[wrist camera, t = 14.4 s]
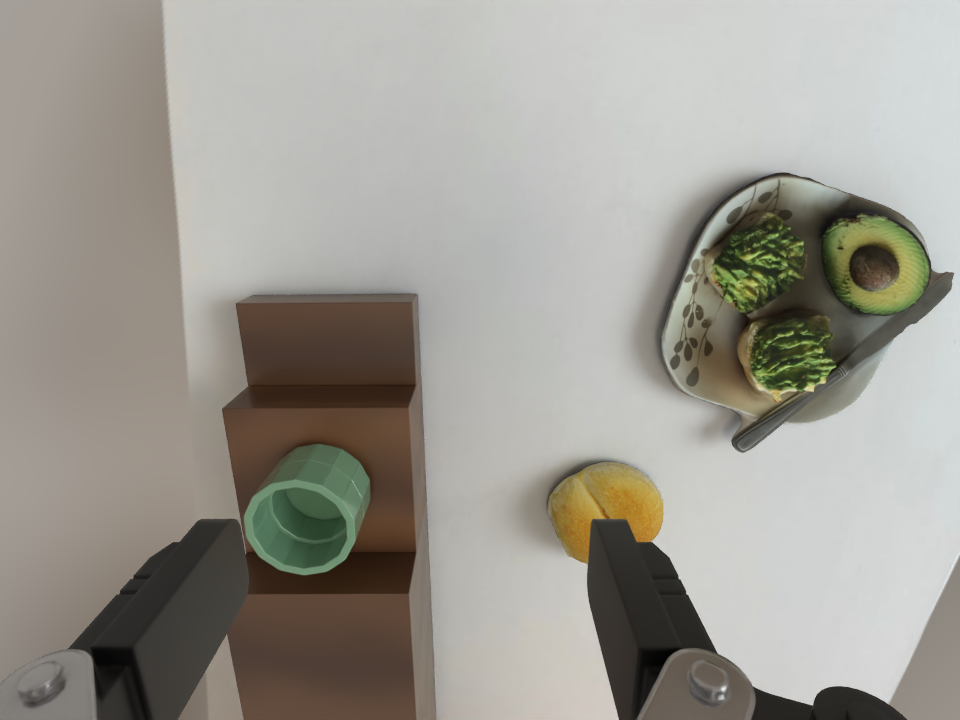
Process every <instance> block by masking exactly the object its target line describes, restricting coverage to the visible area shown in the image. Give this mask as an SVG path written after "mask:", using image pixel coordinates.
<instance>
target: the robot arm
mask: <svg viewBox="0 0 960 720" xmlns="http://www.w3.org/2000/svg"><path fill="white" fill-rule="evenodd" d="M248 586H249V573H248V567H247V562H246V556H245V550H244V544H243V538H242V532H241V527H240V524H239V522H238V521H237V520H236V519H201V520H199V521H197V522H196V523H195V525H194V526H193V527H192V528H191V530H190V531H189V532H188V533H187V534H186V535H185V536H184V538H183V539H182V540H181V541H180V542H173V543H171V544H170V545H168V546H167V547H165V548H164V549H162V550H161V551H159V552H158V553H156V554H155V555H153V556H152V557H150V558H149V559H148V561H147V562H146V563H145V564H144V565H143V566H142V567H141V568H140V569H139V570H138V572H137V573H136V574H135V575H134V578H133V579H130V580H129V582H128V583H127V584H126V585H125V586H124V587H123V588H122V589H121V590H120V594H119V595H116V596H115V597H114V598H113V599H112V601H111V602H110V603H109V604H108V605H107V606H106V607H105V608H104V609H103V610H102V612H101V613H100V614H99V615H98V616H97V617H96V618H95V619H94V620H93V622H92V623H91V624H90V625H89V626H88V627H87V628H86V629H85V631H84V632H83V633H82V634H81V635H80V636H79V637H78V638H77V639H76V640H75V642H74V643H73V644H72V645H71V646H70V648H68V649H66V650H60V651H56V652H52V653H49V654H46V655H44V656H41V657H39V658H36V659H34V660H32V661H30V662H29V663H27V664H25V665H24V666H22V667H20V668H19V669H17V670H16V671H14V672H13V673H12V674H10V675H9V676H8V677H7V678H6V679H5V680H3V681H2V682H1V683H0V720H178V718H179V716H180V714H181V712H182V711H183V709H184V707H185V706H186V704H187V702H188V700H189V699H190V697H191V695H192V693H193V692H194V690H195V688H196V686H197V685H198V683H199V681H200V679H201V678H202V676H203V674H204V673H205V671H206V669H207V667H208V666H209V664H210V662H211V660H212V659H213V657H214V655H215V653H216V652H217V650H218V648H219V646H220V645H221V643H222V641H223V639H224V638H225V636H226V634H227V632H228V631H229V629H230V627H231V625H232V624H233V622H234V620H235V619H236V617H237V615H238V613H239V612H240V610H241V608H242V606H243V604H244V602H245V599H246V596H247V592H248ZM587 588H588V597H589V604H590V608H591V612H592V616H593V620H594V623H595V627H596V631H597V635H598V639H599V643H600V647H601V651H602V655H603V659H604V662H605V666H606V670H607V674H608V678H609V682H610V686H611V690H612V694H613V698H614V701H615V705H616V709H617V713H618V717H619V720H907V719H906V718H905V717H904V716H903V715H902V714H900V713H899V712H898V711H897V710H895V709H894V708H893V707H891V706H890V705H888V704H887V703H886V702H884V701H882V700H880V699H879V698H877V697H875V696H873V695H871V694H868V693H866V692H863V691H860V690H858V689H853V688H849V687H841V686H838V687H829V688H826V689H824V690H822V691H820V692H819V693H818V694H817V696H816V698H815V700H814V704H813V706H811V705H808V704H804V703H801V702H797V701H793V700H790V699H786V698H782V697H779V696H775V695H772V694H769V693H766V692H763V691H761V690H759V689H757V688H755V687H753V686H752V684H751V682H750V681H749V679H748V678H747V676H746V675H745V674H744V673H743V672H742V670H741V669H740V668H738V667H737V666H736V665H735V664H734V663H732V662H731V661H729V660H728V659H726V658H725V657H723V656H721V655H719V654H718V653H717V652H716V650H715V648H714V646H713V644H712V642H711V640H710V638H709V636H708V634H707V632H706V630H705V628H704V626H703V624H702V622H701V620H700V618H699V616H698V614H697V612H696V610H695V608H694V606H693V604H692V602H691V600H690V598H689V596H688V595H686V590H685V588H684V586H683V584H682V582H681V580H679V578H678V574H677V572H676V570H675V568H674V566H673V564H672V562H671V560H670V558H669V557H668V556H667V555H666V554H665V553H663V552H662V551H661V550H660V549H659V548H658V547H657V546H656V545H655V544H653V543H652V542H636V539H635V537H634V535H633V532H632V530H631V528H630V526H629V523H628V521H627V520H626V519H592V522H591V527H590V542H589V557H588V571H587Z"/></svg>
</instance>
